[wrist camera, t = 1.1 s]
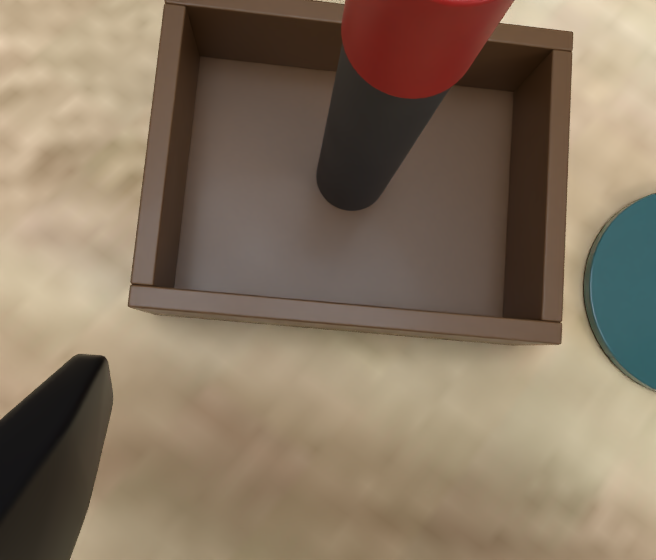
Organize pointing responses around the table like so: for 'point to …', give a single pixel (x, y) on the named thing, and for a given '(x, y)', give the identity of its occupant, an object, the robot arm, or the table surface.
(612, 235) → the coaster
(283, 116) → the box
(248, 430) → the table surface
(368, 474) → the table surface
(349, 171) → the marker
